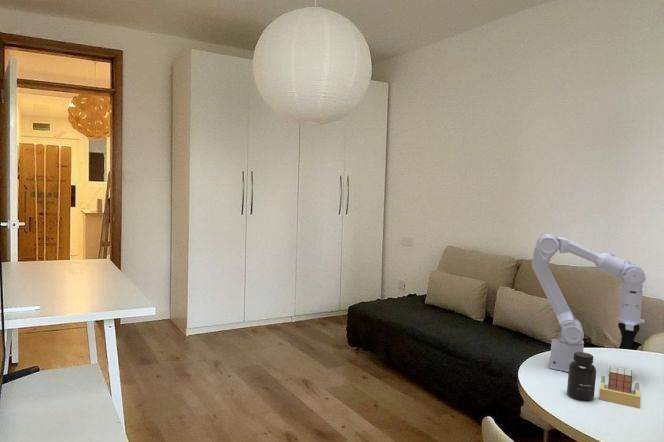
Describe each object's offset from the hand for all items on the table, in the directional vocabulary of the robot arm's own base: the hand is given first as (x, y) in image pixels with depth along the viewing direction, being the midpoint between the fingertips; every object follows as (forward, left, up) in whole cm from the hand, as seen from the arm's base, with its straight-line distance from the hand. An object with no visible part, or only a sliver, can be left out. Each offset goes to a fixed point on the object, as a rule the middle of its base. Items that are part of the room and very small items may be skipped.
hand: (627, 347), depth 152 cm
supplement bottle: (-11, -23, -10) cm, 28 cm away
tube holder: (-1, -16, -9) cm, 19 cm away
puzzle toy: (-1, -12, -10) cm, 15 cm away
